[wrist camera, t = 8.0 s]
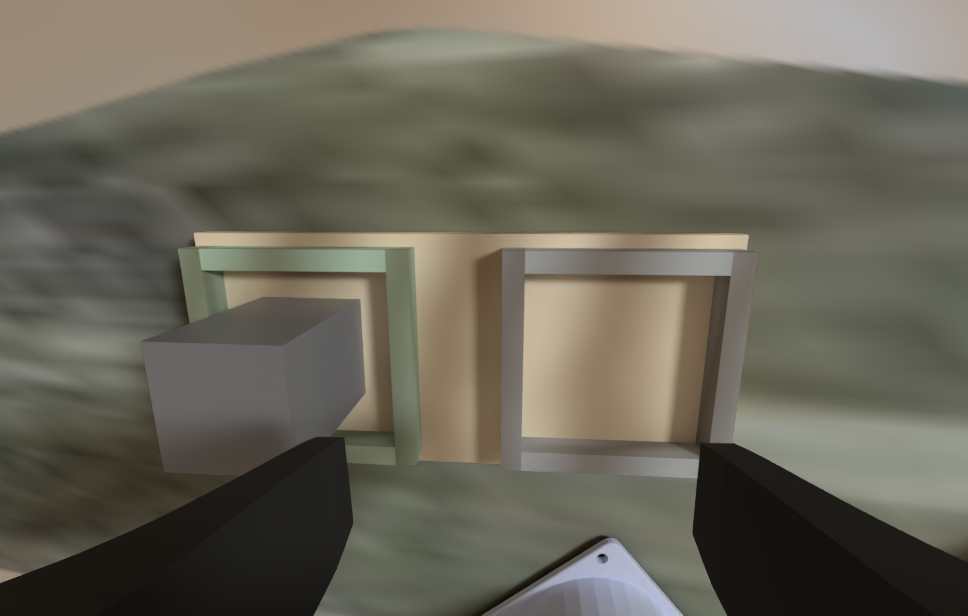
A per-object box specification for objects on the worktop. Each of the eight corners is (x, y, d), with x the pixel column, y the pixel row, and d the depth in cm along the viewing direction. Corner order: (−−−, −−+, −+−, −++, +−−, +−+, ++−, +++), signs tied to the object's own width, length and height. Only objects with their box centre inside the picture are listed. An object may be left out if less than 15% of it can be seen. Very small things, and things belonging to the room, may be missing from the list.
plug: (360, 298, 18) (282, 346, 12) (365, 393, 19) (296, 479, 13) (263, 296, 18) (140, 341, 12) (273, 389, 19) (163, 472, 13)
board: (735, 232, 17) (766, 237, 15) (707, 459, 19) (731, 491, 17) (210, 231, 19) (170, 235, 16) (239, 440, 21) (207, 468, 19)
